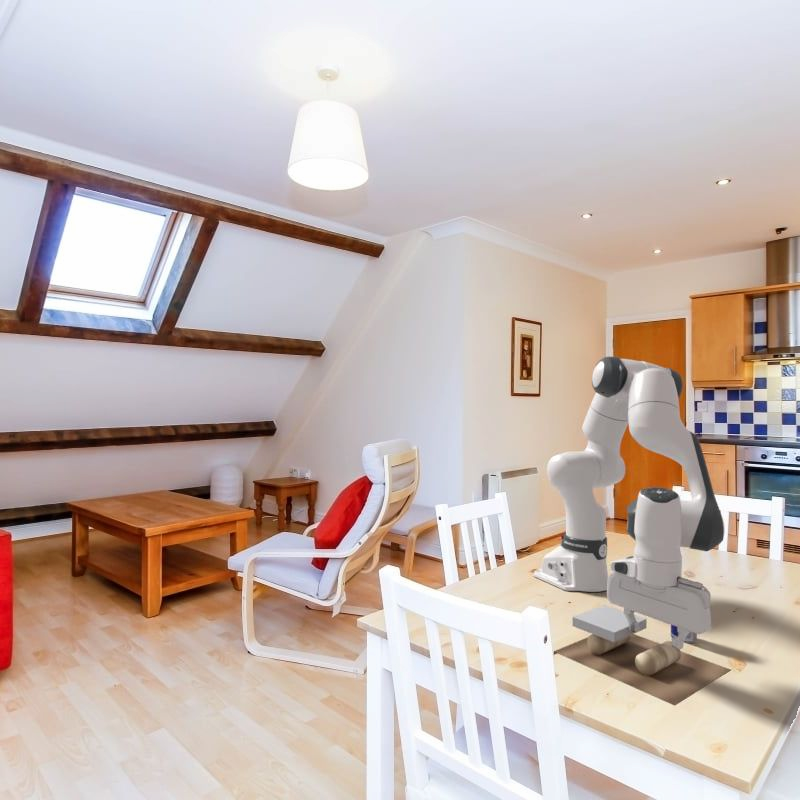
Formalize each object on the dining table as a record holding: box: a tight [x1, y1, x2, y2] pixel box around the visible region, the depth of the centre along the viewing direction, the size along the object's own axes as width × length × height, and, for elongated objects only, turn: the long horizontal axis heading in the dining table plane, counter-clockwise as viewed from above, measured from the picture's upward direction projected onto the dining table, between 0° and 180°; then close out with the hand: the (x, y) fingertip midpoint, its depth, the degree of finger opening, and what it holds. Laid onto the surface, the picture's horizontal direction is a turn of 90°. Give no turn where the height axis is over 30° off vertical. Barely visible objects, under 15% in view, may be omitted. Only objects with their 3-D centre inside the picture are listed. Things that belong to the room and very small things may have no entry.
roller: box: [635, 640, 682, 676], centre depth 115 cm, size 4×10×4 cm, turn 126°
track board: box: [553, 633, 732, 706], centre depth 118 cm, size 26×22×5 cm
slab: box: [572, 604, 647, 642], centre depth 123 cm, size 10×12×2 cm
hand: (655, 639), depth 115 cm, fingers open, 8 cm apart
